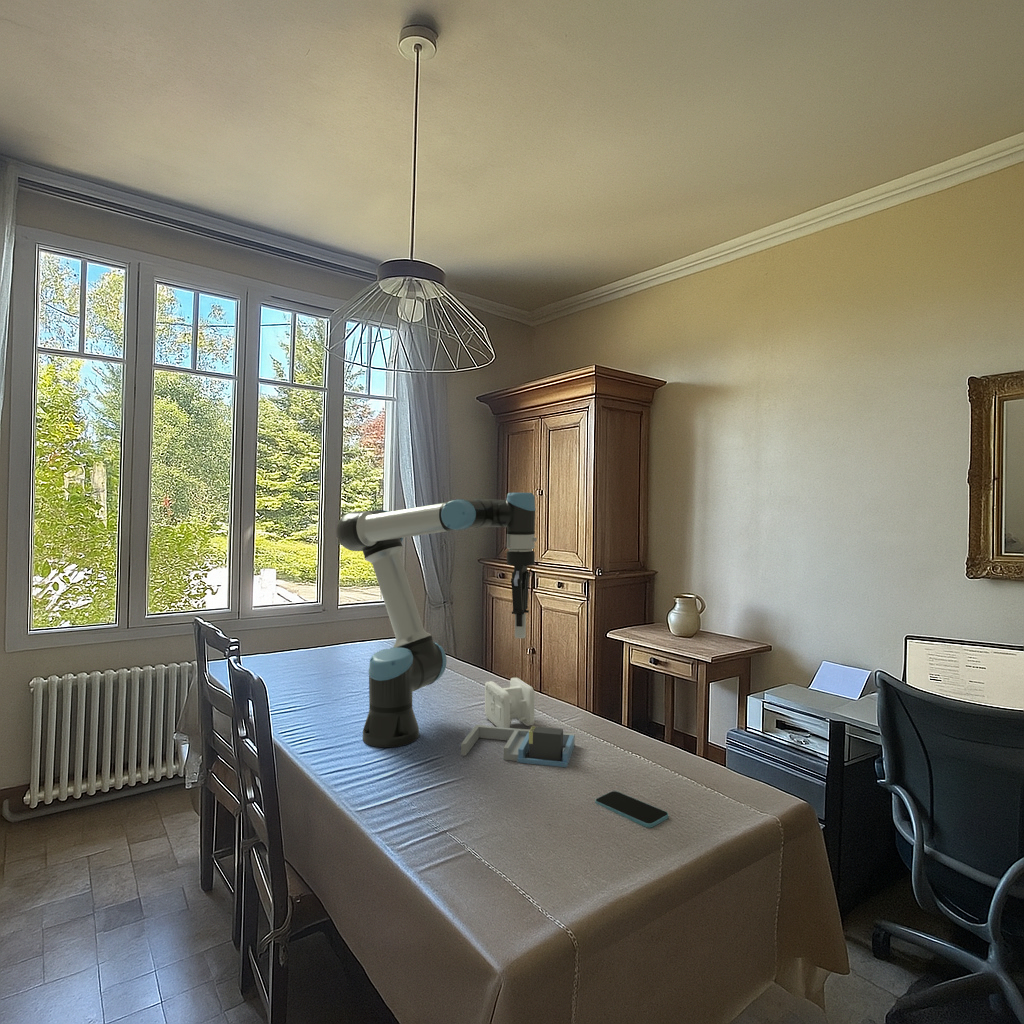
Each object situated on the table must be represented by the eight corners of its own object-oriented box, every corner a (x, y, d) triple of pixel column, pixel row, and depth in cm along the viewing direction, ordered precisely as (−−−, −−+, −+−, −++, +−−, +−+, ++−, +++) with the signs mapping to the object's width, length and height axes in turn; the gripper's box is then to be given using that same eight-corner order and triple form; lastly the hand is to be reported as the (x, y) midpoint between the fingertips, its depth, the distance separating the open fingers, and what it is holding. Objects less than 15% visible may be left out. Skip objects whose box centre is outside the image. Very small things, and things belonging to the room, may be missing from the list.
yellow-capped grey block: (528, 759, 163) (528, 731, 163) (531, 752, 167) (532, 726, 167) (560, 762, 162) (560, 734, 161) (562, 756, 166) (563, 728, 165)
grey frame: (460, 756, 165) (460, 744, 164) (475, 735, 179) (476, 724, 179) (566, 767, 158) (567, 755, 158) (574, 744, 173) (574, 733, 172)
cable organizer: (536, 729, 184) (536, 689, 183) (502, 735, 179) (502, 693, 179) (514, 713, 197) (515, 675, 197) (482, 718, 193) (482, 679, 193)
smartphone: (614, 790, 146) (670, 813, 134) (614, 794, 146) (670, 818, 134) (593, 800, 141) (649, 825, 130) (593, 805, 141) (649, 830, 130)
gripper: (529, 552, 165) (529, 644, 166) (539, 548, 178) (538, 633, 179) (501, 551, 167) (500, 642, 168) (512, 547, 180) (512, 631, 181)
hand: (520, 637), depth 173 cm, fingers closed
